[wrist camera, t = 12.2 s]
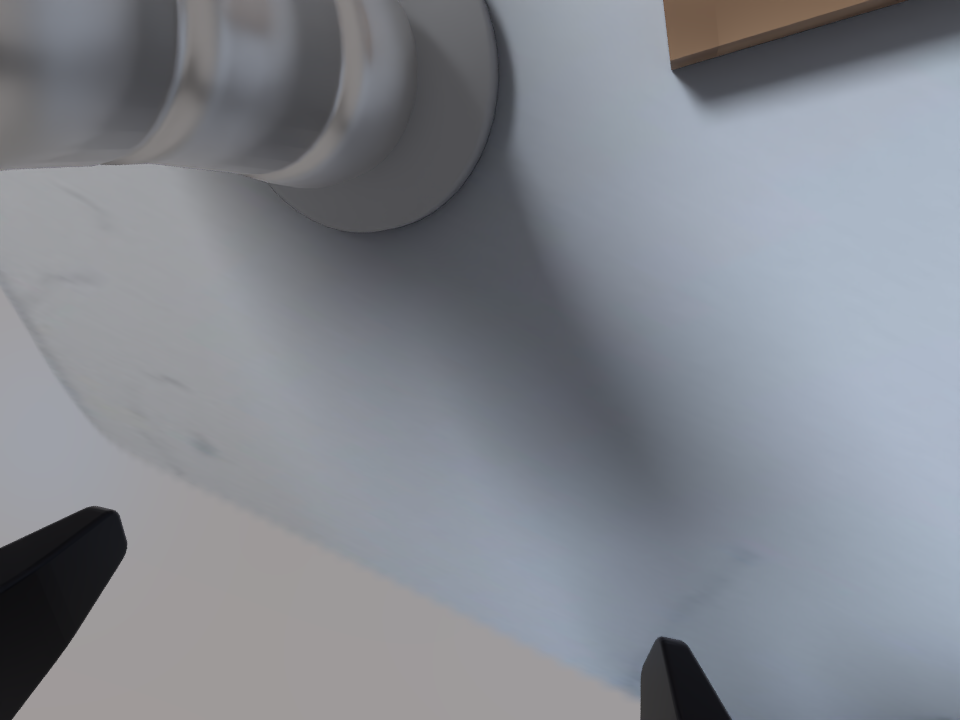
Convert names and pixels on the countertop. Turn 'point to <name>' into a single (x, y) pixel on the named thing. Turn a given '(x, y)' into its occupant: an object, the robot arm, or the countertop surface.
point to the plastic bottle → (206, 85)
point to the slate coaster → (423, 126)
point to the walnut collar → (747, 23)
